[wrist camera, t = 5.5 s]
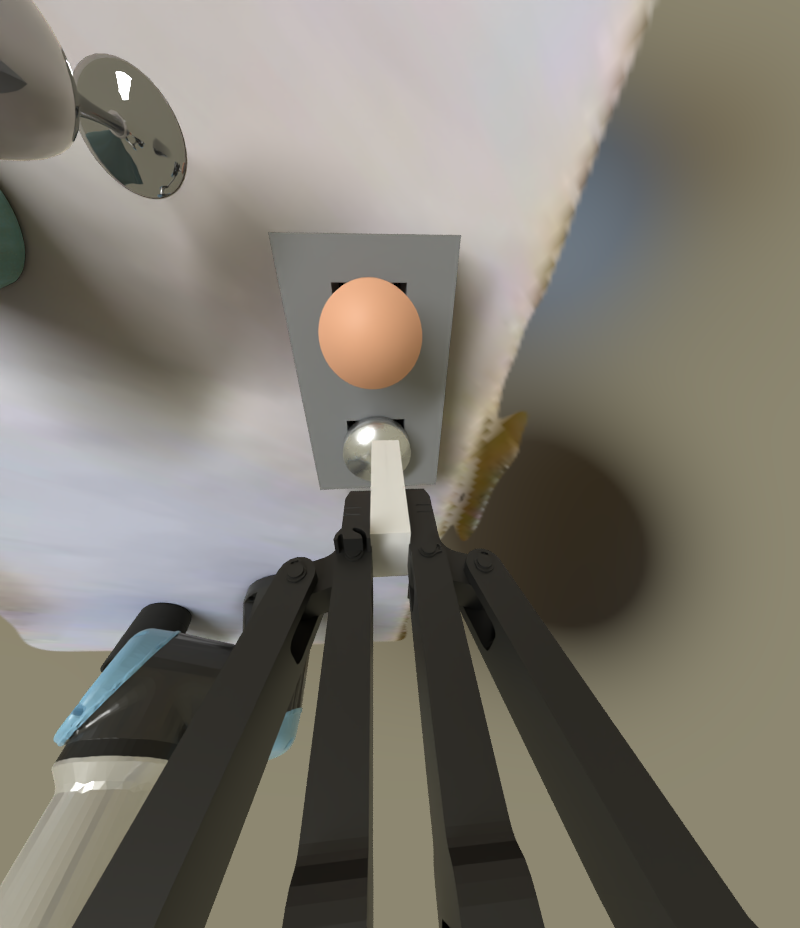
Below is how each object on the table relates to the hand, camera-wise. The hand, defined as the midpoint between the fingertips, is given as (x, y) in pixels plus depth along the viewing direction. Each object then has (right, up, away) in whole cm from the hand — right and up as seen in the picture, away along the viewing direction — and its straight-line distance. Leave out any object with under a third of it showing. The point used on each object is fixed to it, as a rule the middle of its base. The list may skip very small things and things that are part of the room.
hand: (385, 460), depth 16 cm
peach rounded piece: (-2, +12, +9) cm, 15 cm away
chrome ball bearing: (-2, +5, +19) cm, 20 cm away
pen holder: (-45, -30, +40) cm, 68 cm away
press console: (-2, +10, +16) cm, 19 cm away
